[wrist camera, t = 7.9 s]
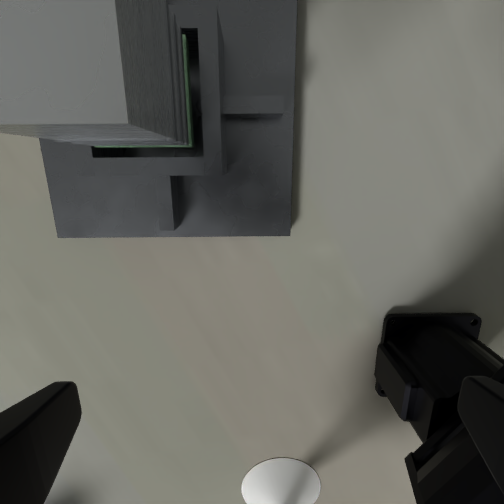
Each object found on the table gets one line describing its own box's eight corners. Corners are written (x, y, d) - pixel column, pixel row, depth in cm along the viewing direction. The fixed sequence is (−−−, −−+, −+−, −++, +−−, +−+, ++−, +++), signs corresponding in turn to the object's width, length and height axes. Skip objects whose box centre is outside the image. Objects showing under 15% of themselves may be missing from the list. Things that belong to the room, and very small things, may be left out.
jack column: (189, 43, 13) (104, -131, 5) (195, 147, 14) (132, 127, 6) (90, 43, 13) (-140, -132, 5) (104, 148, 14) (-67, 128, 6)
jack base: (295, -37, 15) (313, -116, 11) (288, 232, 19) (299, 252, 15) (18, -37, 15) (-73, -117, 11) (67, 234, 19) (14, 254, 15)
